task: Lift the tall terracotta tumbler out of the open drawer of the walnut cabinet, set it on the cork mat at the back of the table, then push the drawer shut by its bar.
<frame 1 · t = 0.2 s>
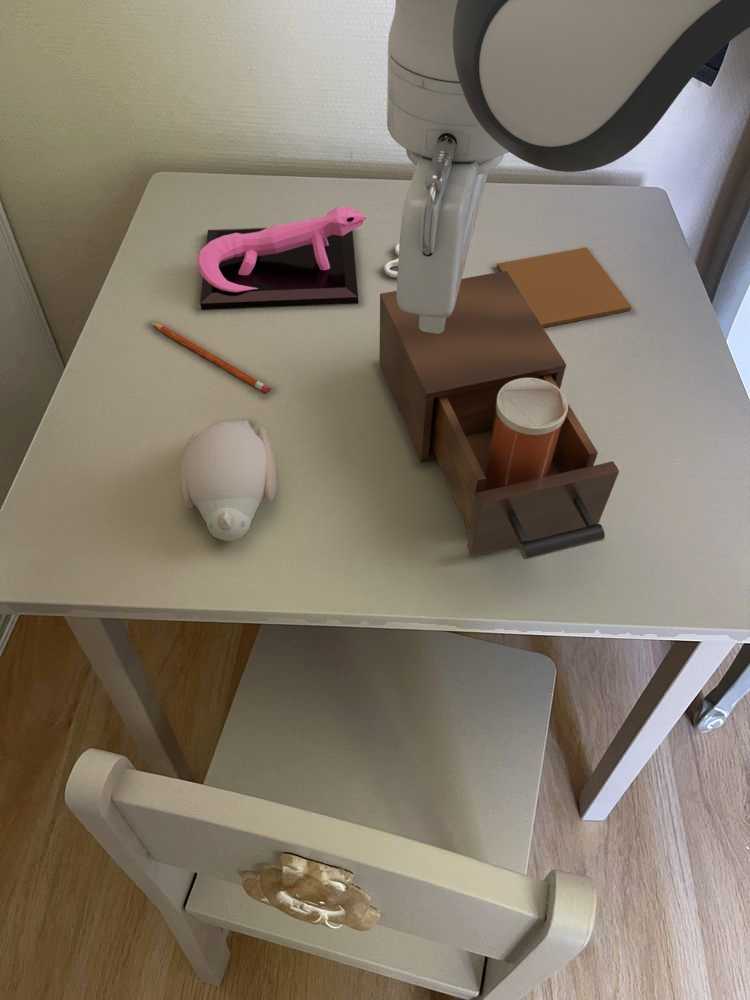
hand: (443, 286, 58), 22 cm above the table, tool pointing down, fingers open, 8 cm apart
drawer: (522, 474, 69), point 5 cm above the table, slide at 11.0 cm, touching tumbler
decorative bird: (234, 487, 75), on the table
tumbler: (513, 485, 72), point 2 cm above the table, touching drawer
rock: (446, 213, 103), on the table
fidget spinner: (409, 262, 96), on the table
mat: (561, 288, 93), on the table
dark display base: (285, 269, 95), on the table
cabinet: (460, 398, 82), on the table
pencil: (208, 358, 86), on the table
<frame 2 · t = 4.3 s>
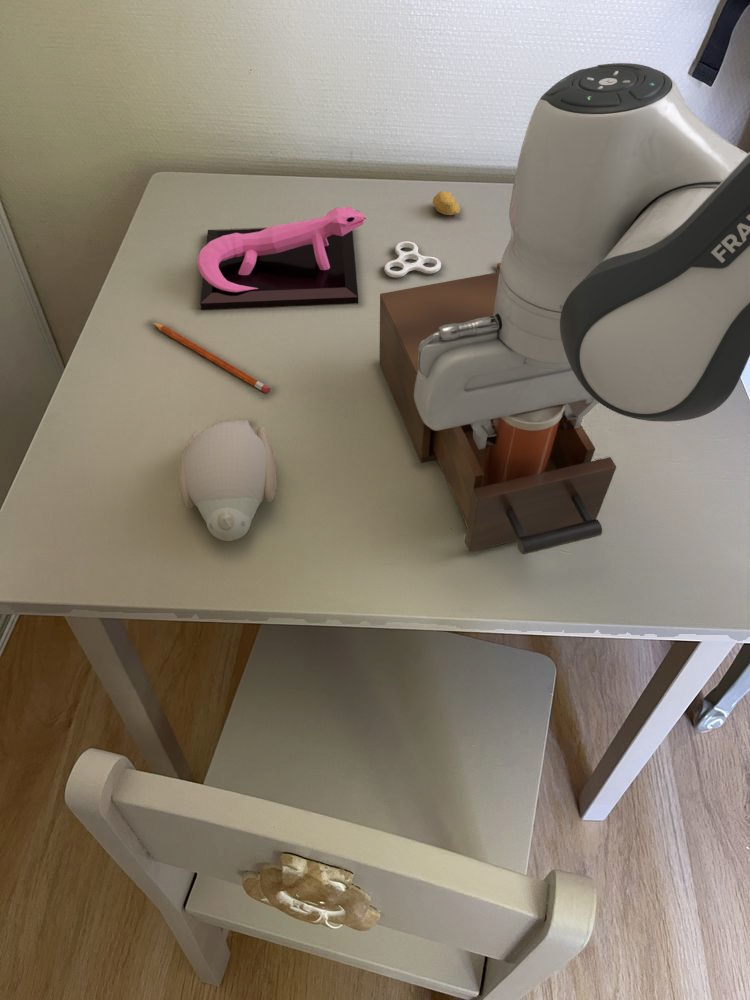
hand: (525, 433, 67), 8 cm above the table, tool pointing down, fingers open, 6 cm apart
drawer: (519, 471, 70), point 5 cm above the table, slide at 10.5 cm, touching gripper, tumbler
tumbler: (511, 481, 73), point 2 cm above the table, touching drawer, gripper
everything else where it was.
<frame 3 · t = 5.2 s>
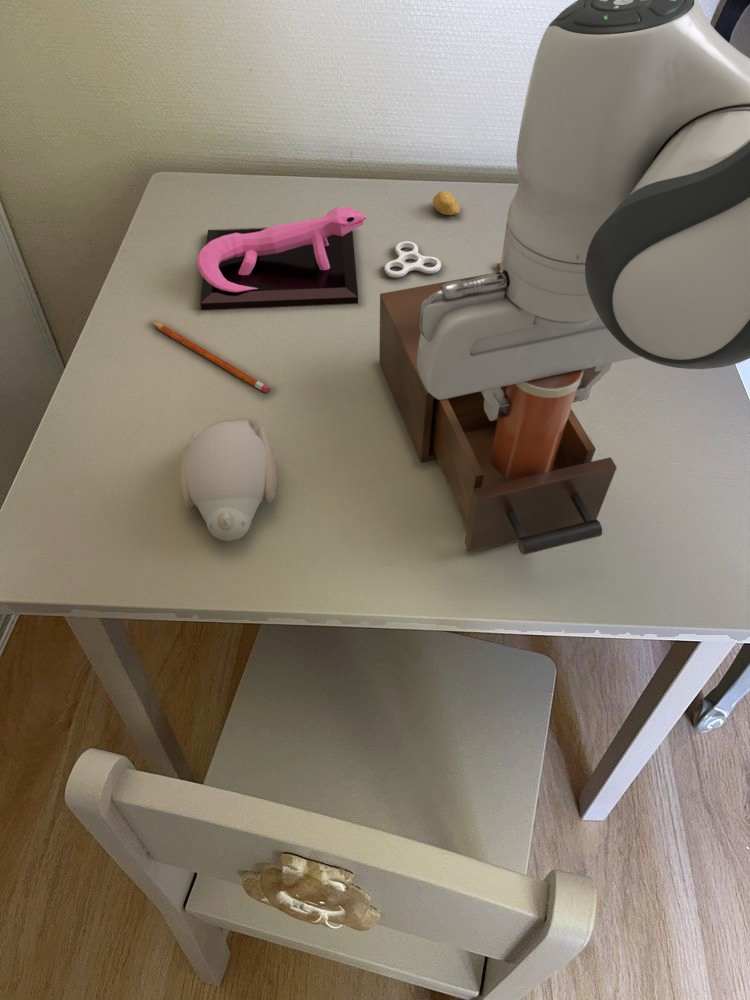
hand: (535, 405, 64), 13 cm above the table, tool pointing down, fingers closed on tumbler, 6 cm apart
drawer: (520, 471, 70), point 5 cm above the table, slide at 10.6 cm
tumbler: (521, 458, 69), point 6 cm above the table, touching gripper
everything else where it was.
when the fingers open (7 cm above the table, at t = 12.7 s): tumbler stays where it is, resting on mat.
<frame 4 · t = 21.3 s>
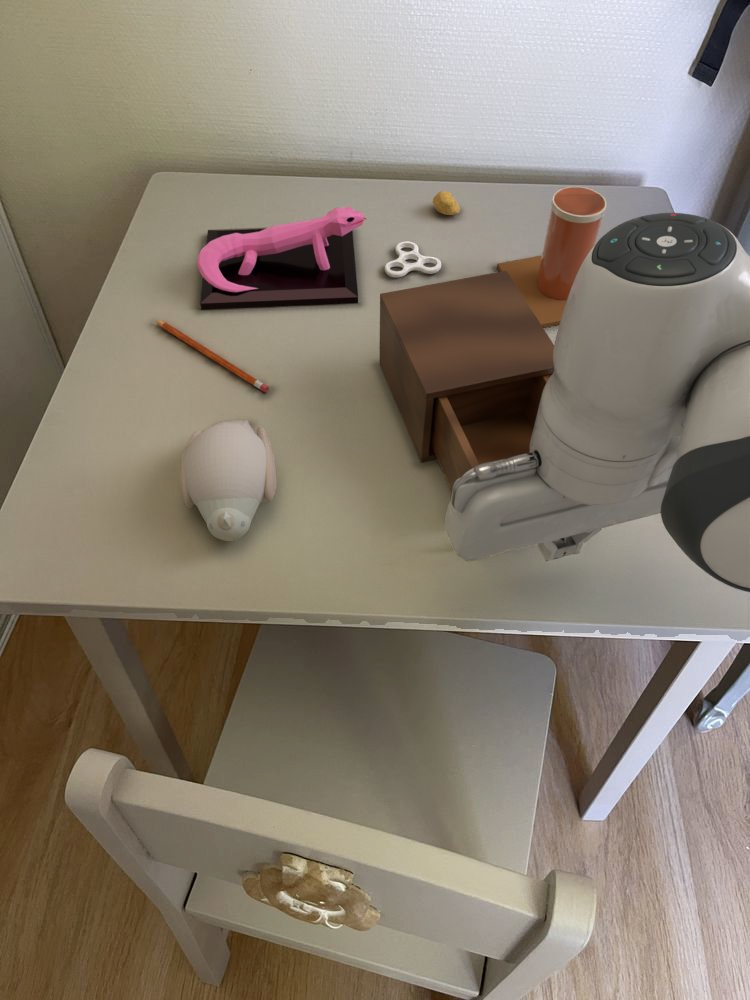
hand: (558, 550, 65), 5 cm above the table, tool pointing down, fingers closed
drawer: (516, 463, 70), point 5 cm above the table, slide at 9.6 cm, touching gripper
tumbler: (559, 285, 92), point 1 cm above the table, touching mat
everything else where it was.
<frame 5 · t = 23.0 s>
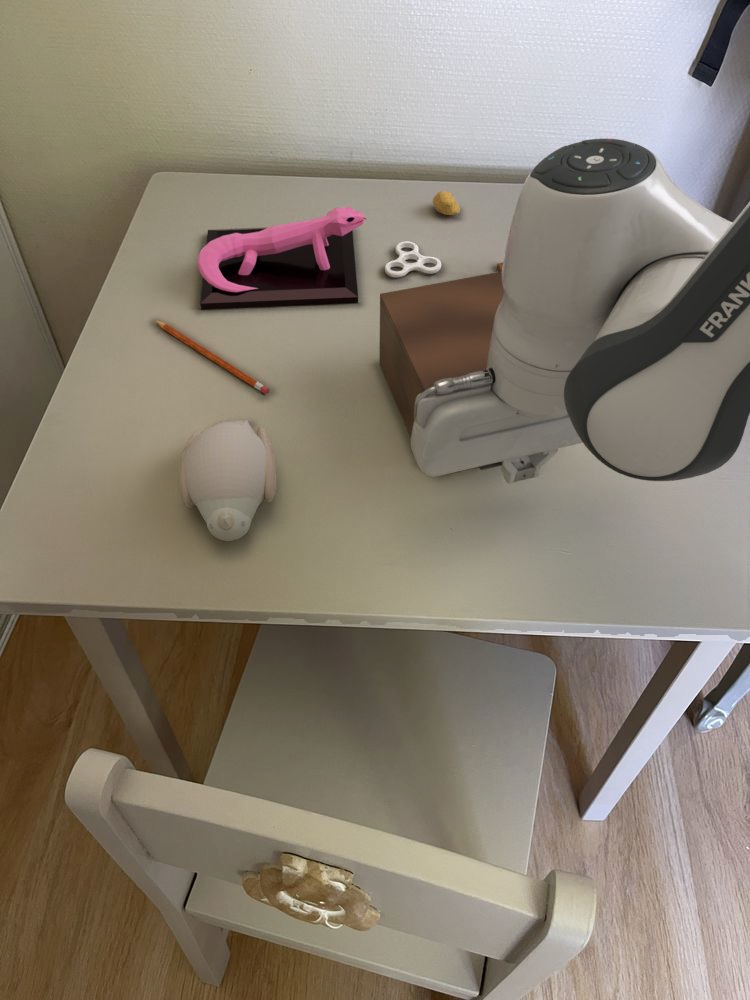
hand: (519, 474, 70), 5 cm above the table, tool pointing down, fingers closed, pressing on drawer
drawer: (482, 399, 75), point 5 cm above the table, slide at 1.1 cm, touching gripper
everything else where it was.
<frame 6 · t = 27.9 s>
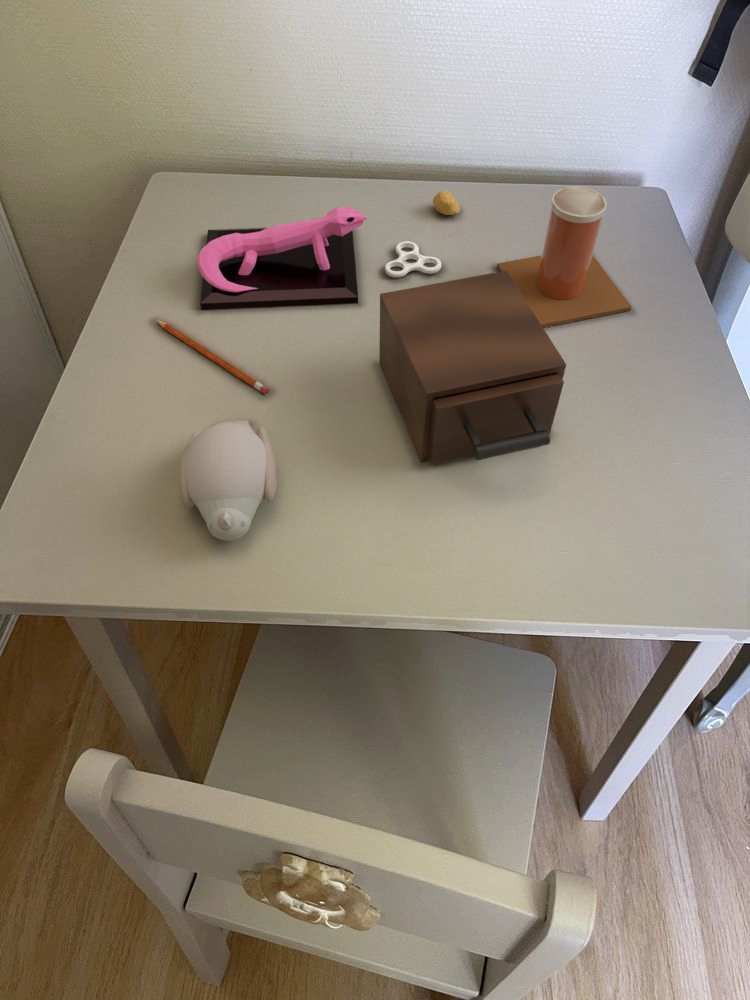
drawer: (478, 390, 76), point 5 cm above the table, slide at 0.0 cm
everything else where it was.
at the end: tumbler inside the target area on the mat (0.4 cm from its centre), point 0.6 cm above the mat's base; tumbler tilted 0°; drawer slide at 0.0 cm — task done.
